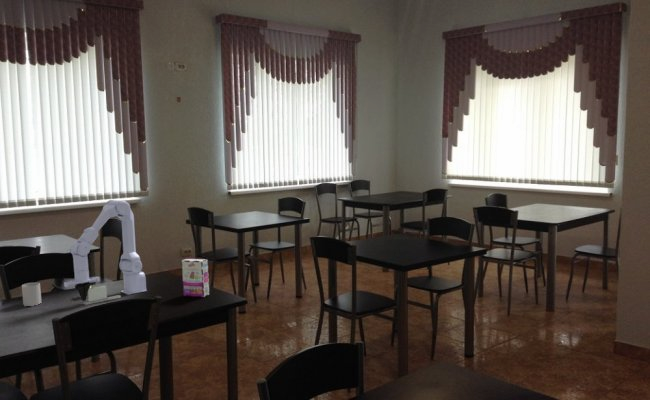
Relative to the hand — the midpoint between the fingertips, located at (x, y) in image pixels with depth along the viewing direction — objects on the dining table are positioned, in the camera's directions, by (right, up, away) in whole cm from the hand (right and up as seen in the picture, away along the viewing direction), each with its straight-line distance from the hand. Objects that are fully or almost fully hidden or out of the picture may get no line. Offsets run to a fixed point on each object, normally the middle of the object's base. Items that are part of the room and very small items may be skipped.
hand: (83, 300), depth 260 cm
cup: (-24, -2, +4) cm, 25 cm away
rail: (+6, -1, +5) cm, 8 cm away
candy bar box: (+47, 0, +10) cm, 48 cm away
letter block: (-4, -1, +13) cm, 14 cm away
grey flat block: (+5, -1, +4) cm, 6 cm away
